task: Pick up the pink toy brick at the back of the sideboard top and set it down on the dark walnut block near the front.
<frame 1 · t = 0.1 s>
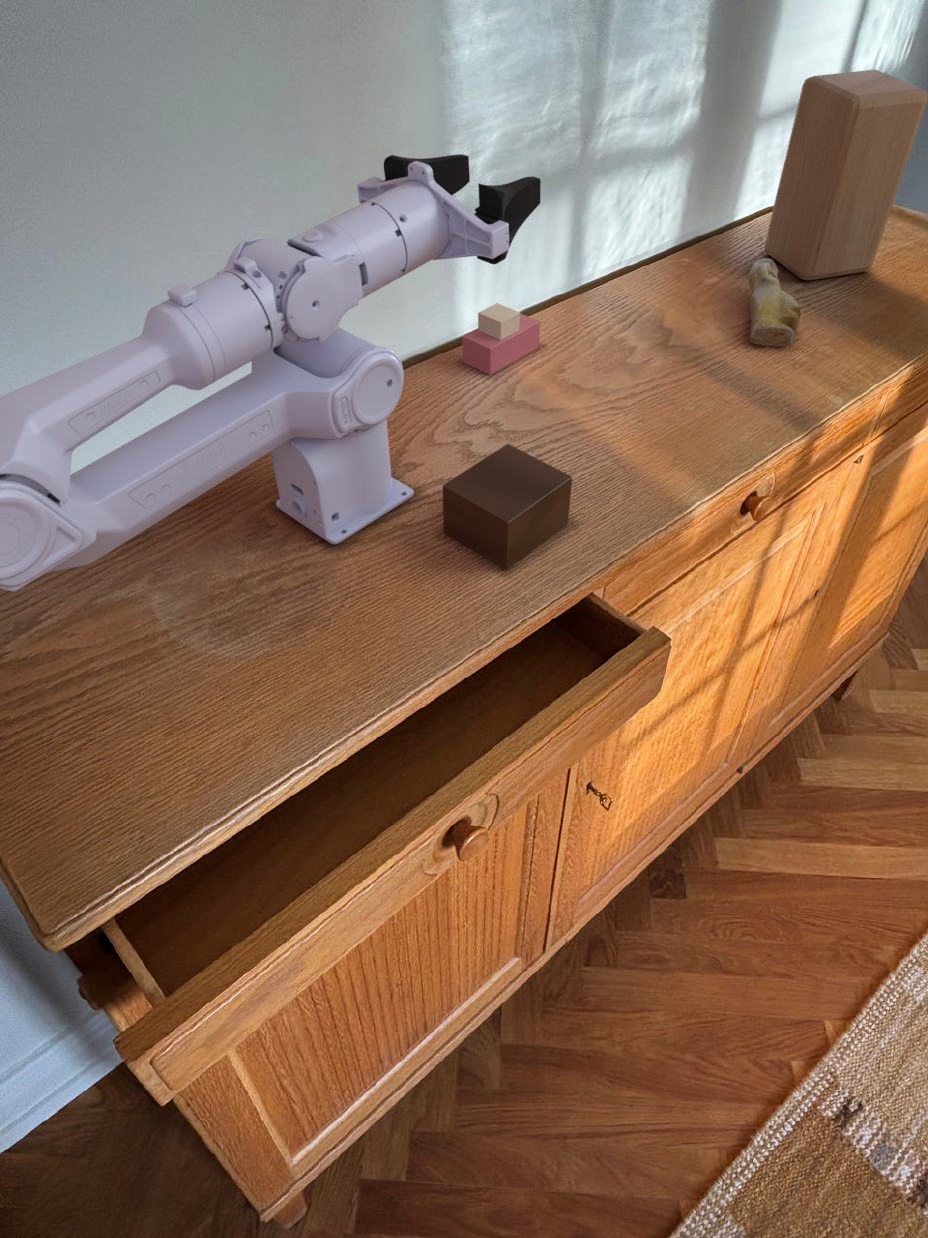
hand: (500, 178, 71), 22 cm above the cabinet, tool horizontal, fingers open, 7 cm apart
walnut block: (506, 528, 73), on the cabinet
pink toy brick: (501, 354, 94), on the cabinet
block: (814, 264, 110), on the cabinet
figurine: (768, 318, 100), on the cabinet
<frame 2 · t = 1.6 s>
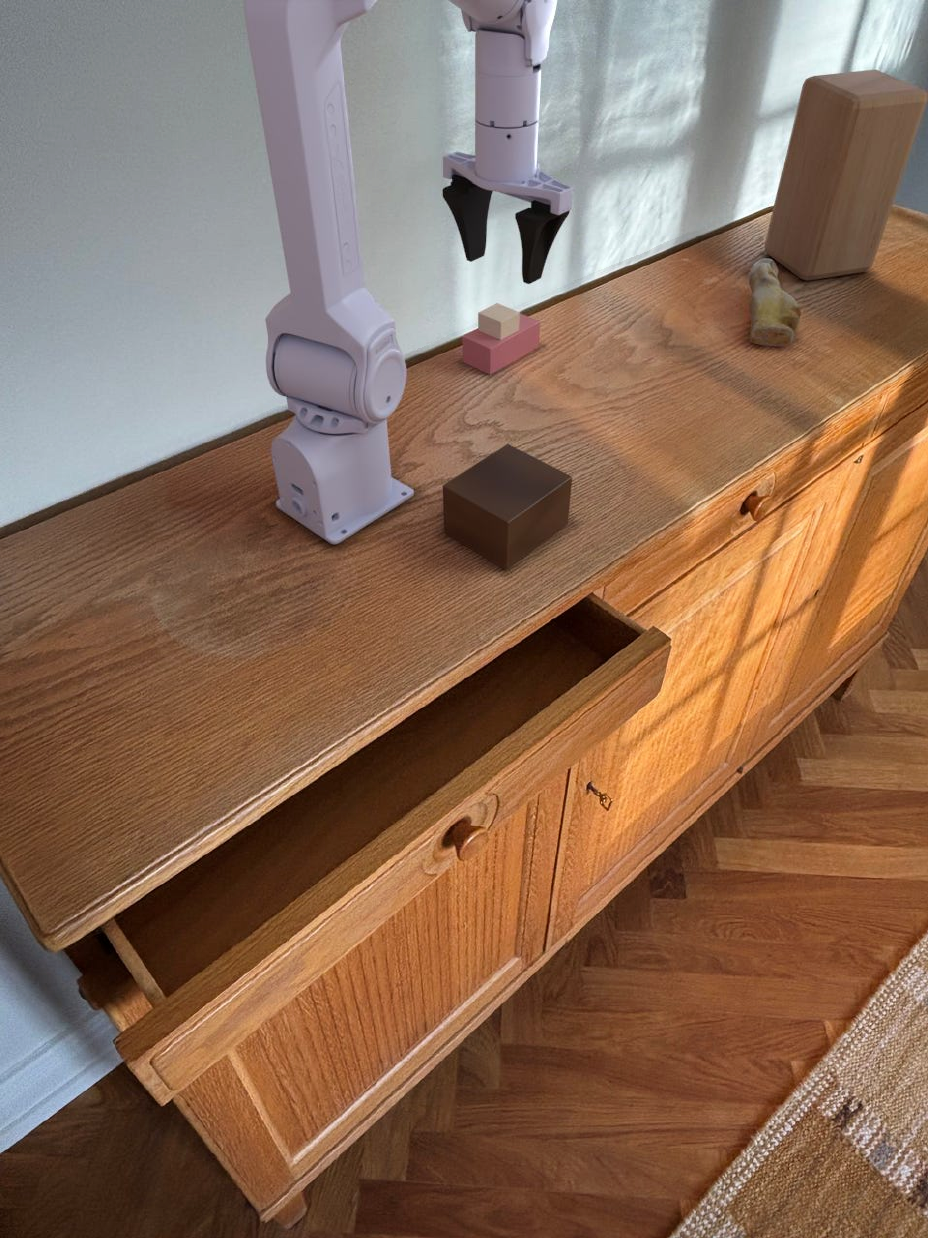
hand: (503, 268, 87), 9 cm above the cabinet, tool pointing down, fingers open, 7 cm apart
nothing on the cabinet moved.
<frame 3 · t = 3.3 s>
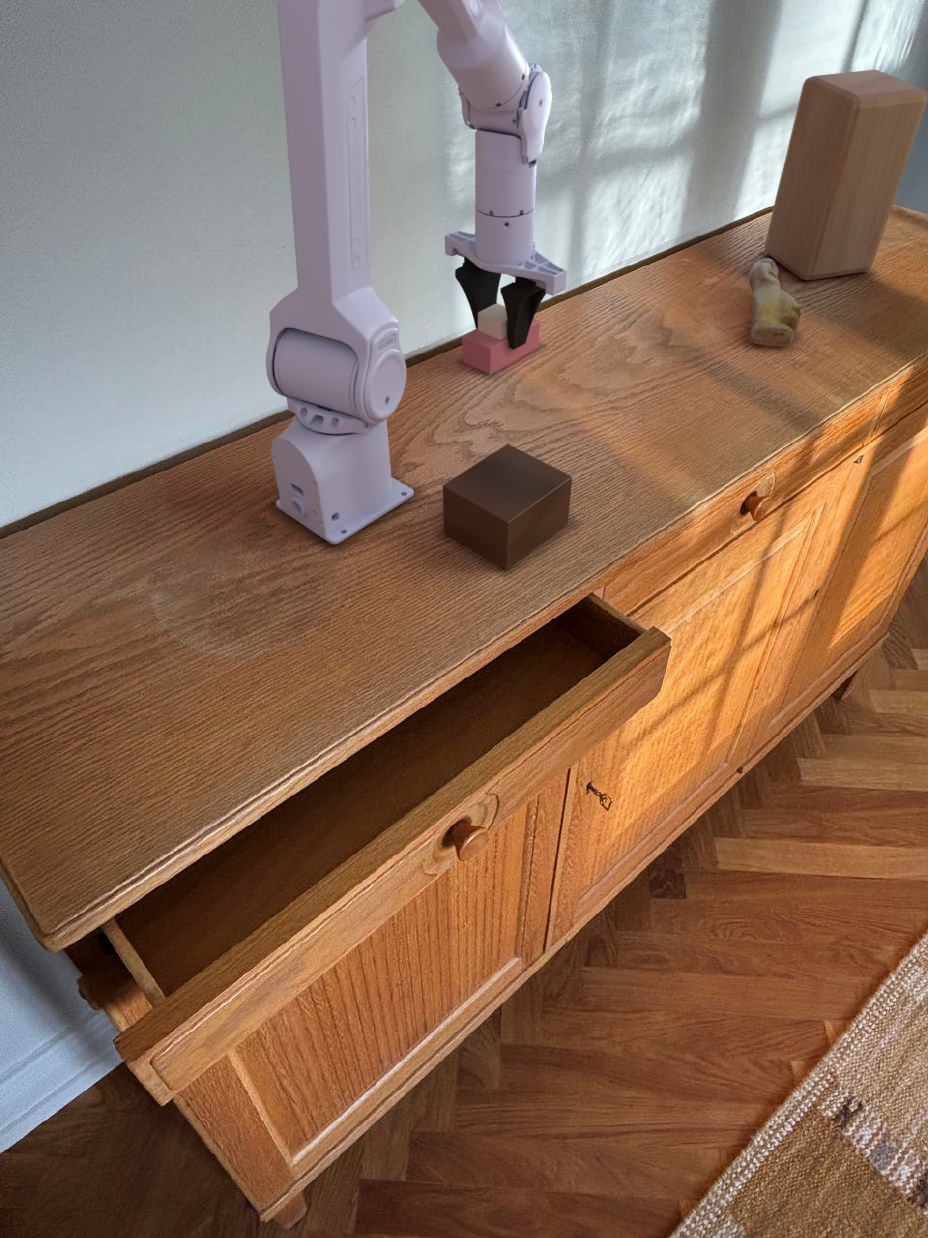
hand: (501, 338, 93), 2 cm above the cabinet, tool pointing down, fingers closed on pink toy brick, 4 cm apart
pink toy brick: (500, 354, 94), on the cabinet, touching gripper
everything else where it was.
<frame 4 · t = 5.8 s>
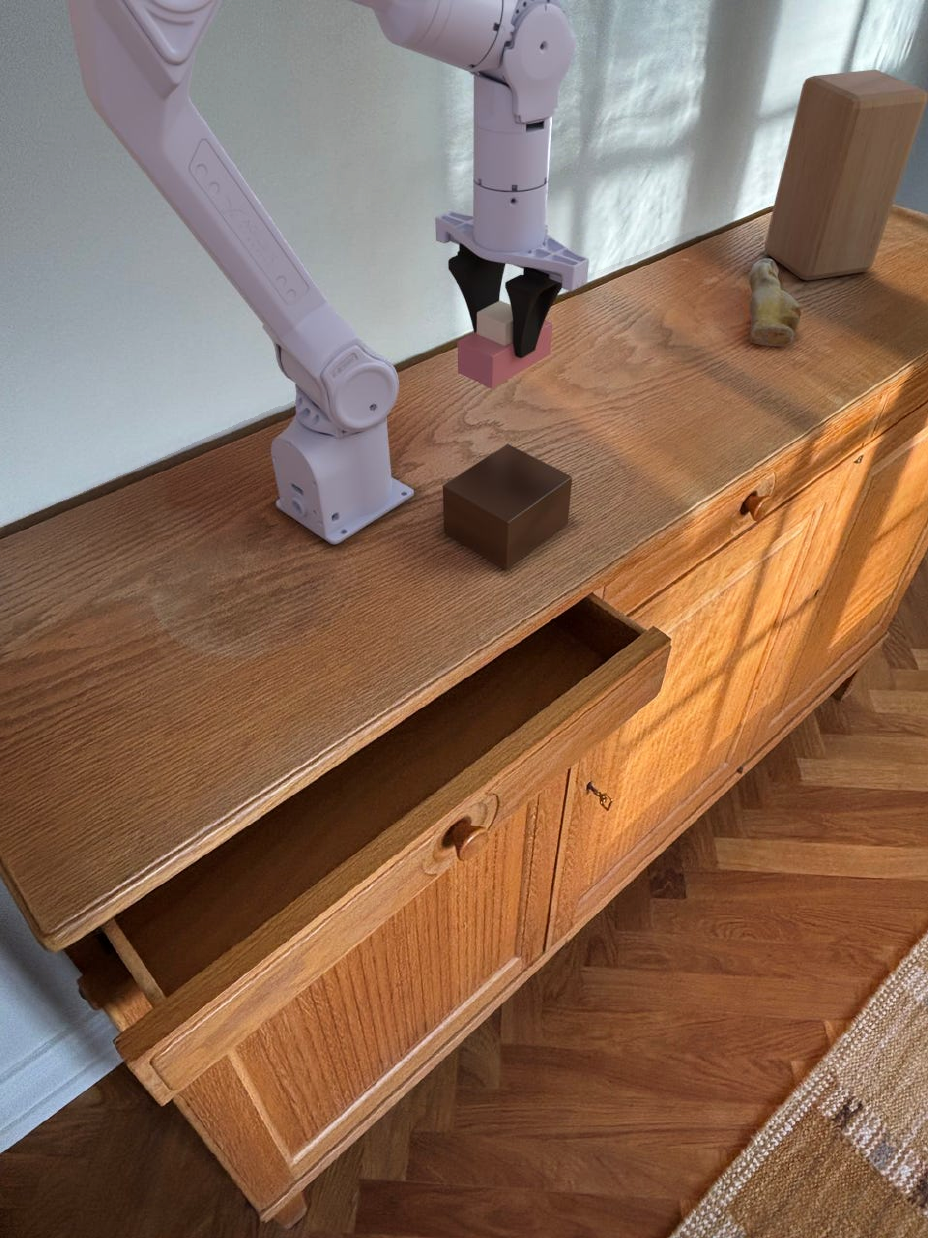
hand: (505, 344, 76), 10 cm above the cabinet, tool pointing down, fingers closed on pink toy brick, 4 cm apart
pink toy brick: (504, 363, 77), point 8 cm above the cabinet, touching gripper
everything else where it was.
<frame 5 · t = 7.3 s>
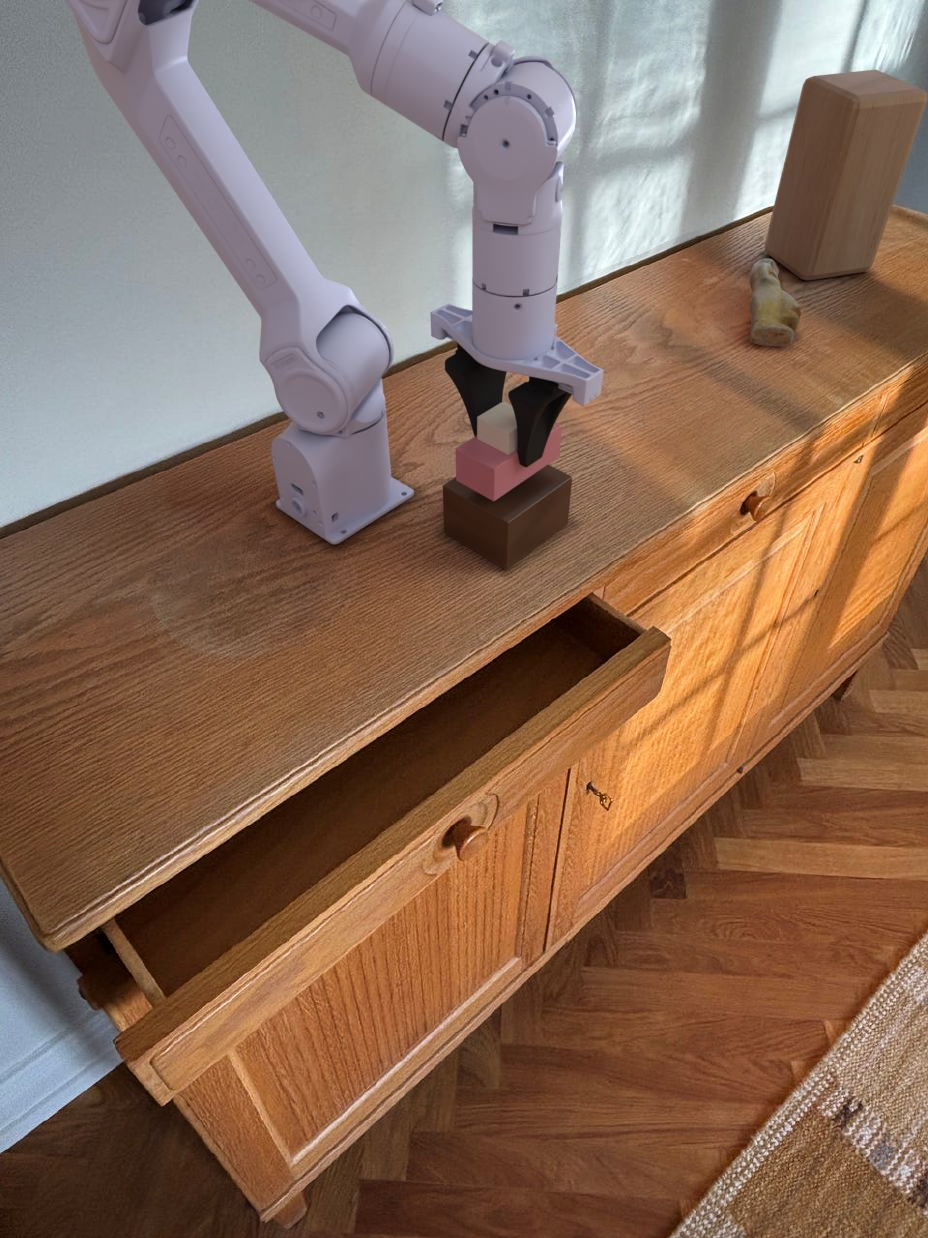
hand: (509, 449, 68), 8 cm above the cabinet, tool pointing down, fingers closed on pink toy brick, 4 cm apart
pink toy brick: (508, 468, 69), point 6 cm above the cabinet, touching gripper
everything else where it was.
when the fingers open (7 cm above the cabinet, at t = 8.1 s): pink toy brick stays where it is, resting on walnut block.
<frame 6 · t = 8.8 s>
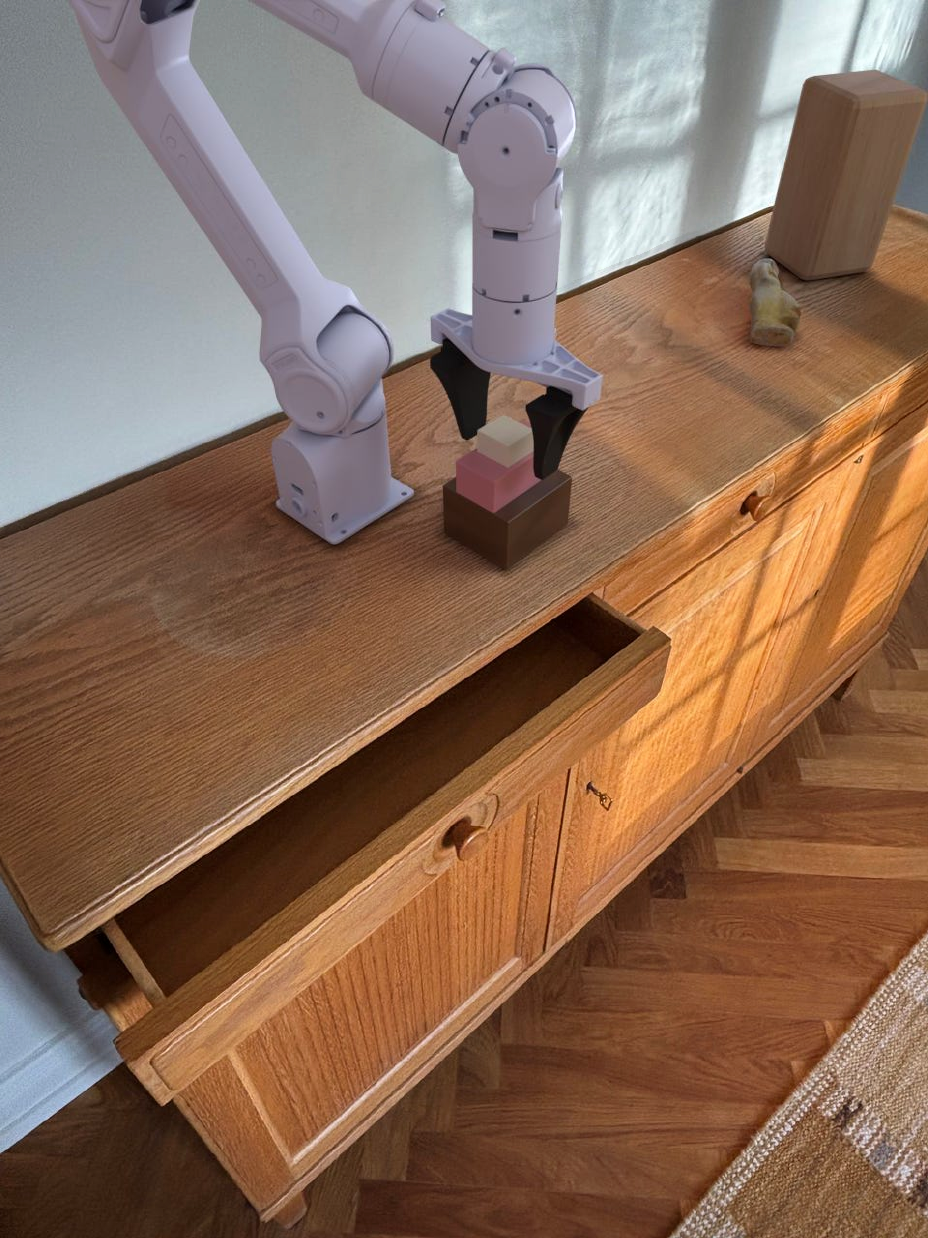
hand: (508, 453, 68), 8 cm above the cabinet, tool pointing down, fingers open, 7 cm apart
pink toy brick: (508, 480, 70), point 5 cm above the cabinet, touching walnut block
everything else where it was.
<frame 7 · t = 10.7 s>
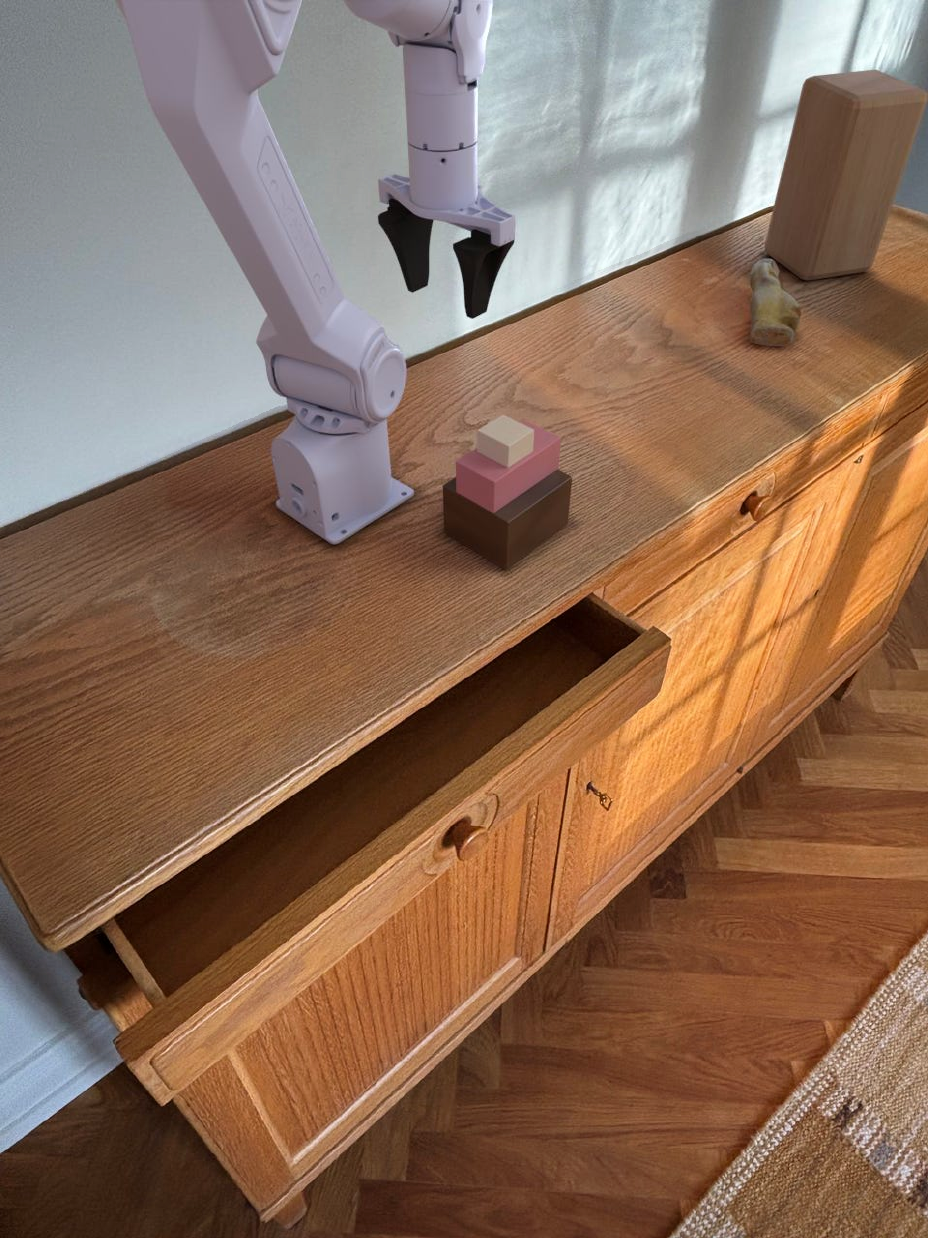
hand: (446, 300, 80), 10 cm above the cabinet, tool pointing down, fingers open, 7 cm apart
nothing on the cabinet moved.
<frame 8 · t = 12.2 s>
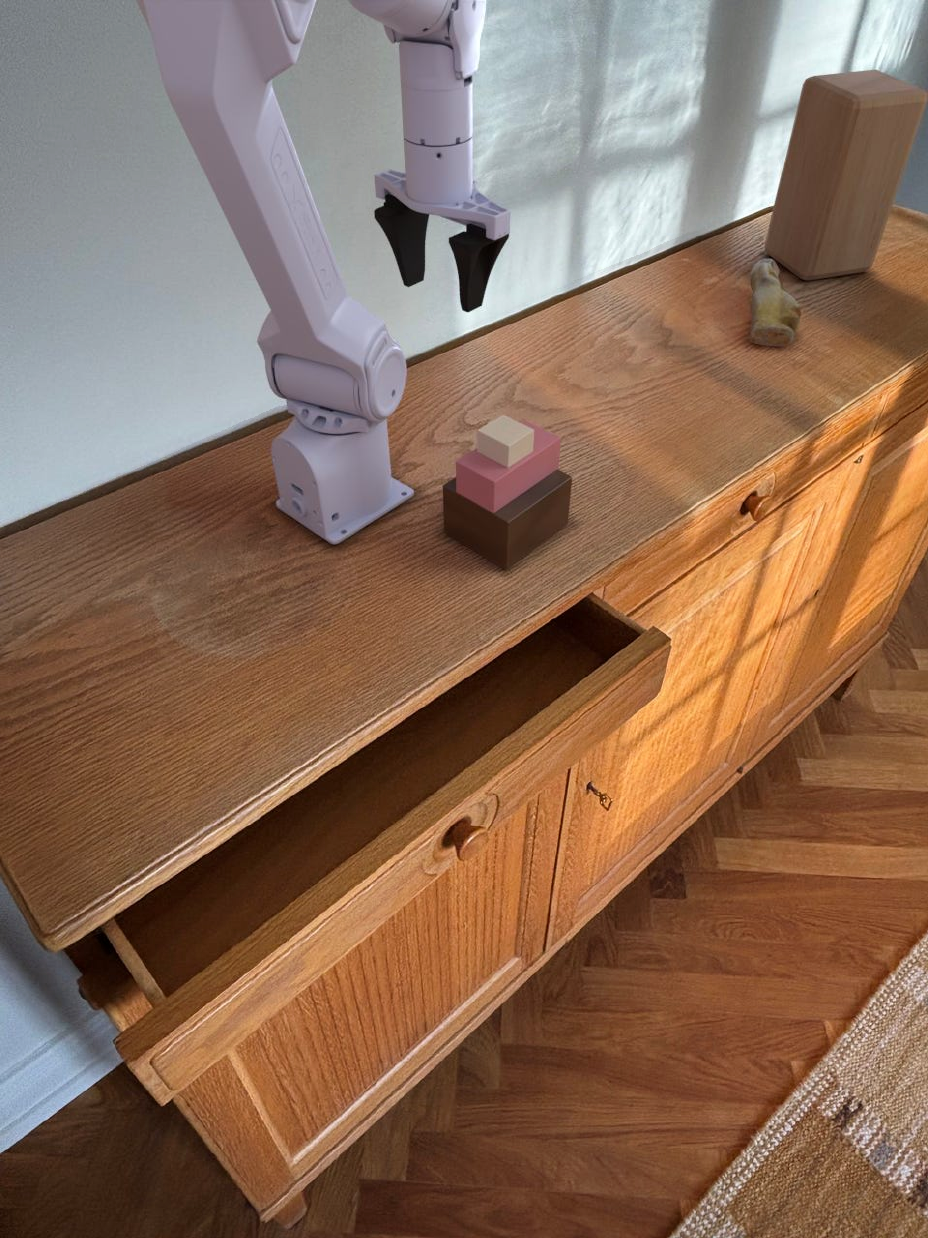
hand: (442, 295, 81), 10 cm above the cabinet, tool pointing down, fingers open, 7 cm apart
nothing on the cabinet moved.
at the end: pink toy brick 0.1 cm off-centre on the walnut block, point 5.0 cm above the walnut block's base; pink toy brick tilted 0°; the gripper is holding nothing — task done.
